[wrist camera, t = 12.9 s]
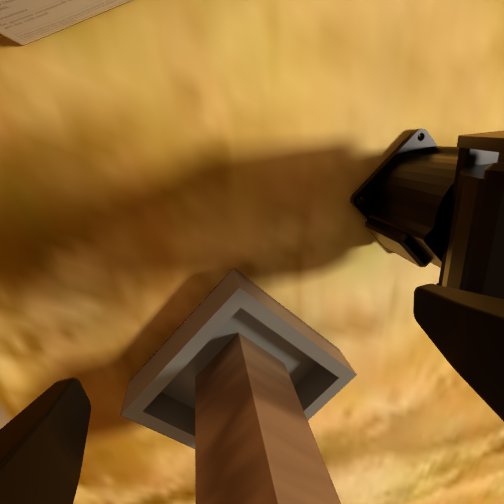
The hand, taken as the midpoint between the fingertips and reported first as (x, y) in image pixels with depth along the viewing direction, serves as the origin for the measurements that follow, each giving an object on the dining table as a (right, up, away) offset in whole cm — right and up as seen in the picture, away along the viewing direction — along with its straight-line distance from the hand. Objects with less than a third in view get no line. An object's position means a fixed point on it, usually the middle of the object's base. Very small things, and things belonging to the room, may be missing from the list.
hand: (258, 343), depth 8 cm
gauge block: (-1, -7, +16) cm, 17 cm away
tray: (-1, -7, +16) cm, 18 cm away
